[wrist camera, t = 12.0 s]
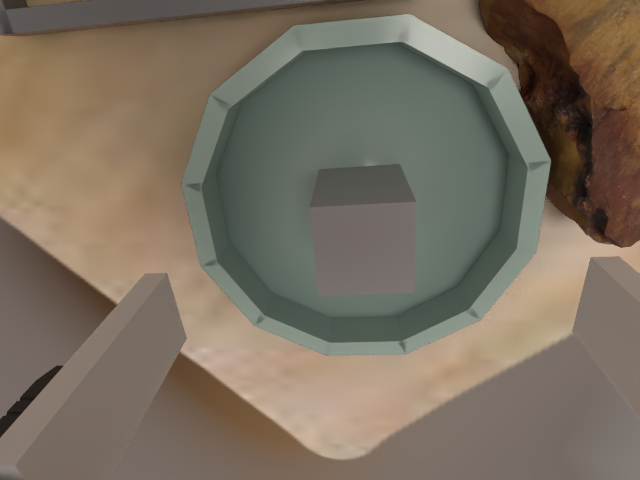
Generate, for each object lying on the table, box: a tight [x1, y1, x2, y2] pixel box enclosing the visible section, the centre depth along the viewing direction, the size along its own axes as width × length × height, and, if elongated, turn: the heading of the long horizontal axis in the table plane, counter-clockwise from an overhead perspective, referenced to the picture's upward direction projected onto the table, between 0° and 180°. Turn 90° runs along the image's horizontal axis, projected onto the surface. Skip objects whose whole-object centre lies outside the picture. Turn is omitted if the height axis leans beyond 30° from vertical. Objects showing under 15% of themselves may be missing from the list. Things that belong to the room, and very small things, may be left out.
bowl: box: [181, 14, 551, 356], centre depth 22 cm, size 18×18×4 cm
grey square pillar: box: [309, 164, 416, 296], centre depth 20 cm, size 4×4×6 cm
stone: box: [479, 0, 640, 248], centre depth 18 cm, size 15×9×5 cm, turn 27°
